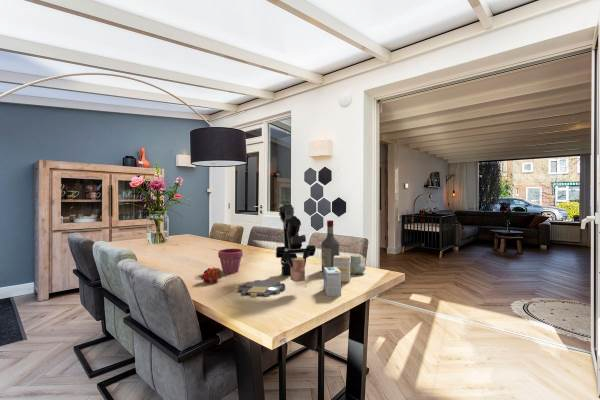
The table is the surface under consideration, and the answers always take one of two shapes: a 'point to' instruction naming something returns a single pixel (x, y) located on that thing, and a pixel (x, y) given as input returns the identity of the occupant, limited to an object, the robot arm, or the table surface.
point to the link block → (298, 269)
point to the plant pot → (230, 260)
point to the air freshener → (356, 265)
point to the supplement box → (343, 267)
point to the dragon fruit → (211, 275)
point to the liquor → (329, 247)
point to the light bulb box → (332, 281)
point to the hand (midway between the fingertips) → (298, 266)
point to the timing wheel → (261, 288)
